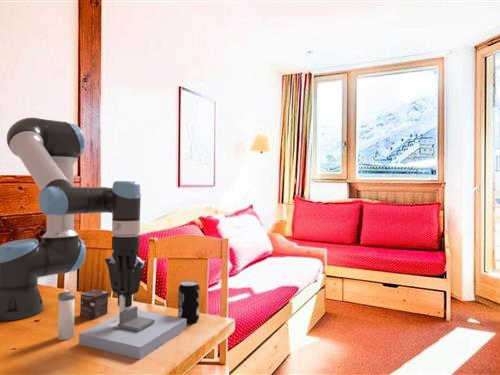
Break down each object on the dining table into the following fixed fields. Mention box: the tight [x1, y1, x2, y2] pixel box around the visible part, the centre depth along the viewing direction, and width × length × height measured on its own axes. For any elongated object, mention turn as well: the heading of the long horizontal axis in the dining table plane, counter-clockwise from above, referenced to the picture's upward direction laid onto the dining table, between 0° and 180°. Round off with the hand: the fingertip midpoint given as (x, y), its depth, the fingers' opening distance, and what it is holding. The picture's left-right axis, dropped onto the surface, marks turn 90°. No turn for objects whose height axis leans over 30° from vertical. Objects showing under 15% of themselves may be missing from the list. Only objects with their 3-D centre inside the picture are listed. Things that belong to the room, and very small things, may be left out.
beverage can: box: [177, 279, 201, 325], centre depth 115 cm, size 7×7×12 cm
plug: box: [57, 291, 76, 341], centre depth 101 cm, size 4×4×12 cm
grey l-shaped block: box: [118, 305, 155, 331], centre depth 102 cm, size 7×7×4 cm
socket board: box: [78, 309, 188, 360], centre depth 102 cm, size 20×21×3 cm
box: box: [79, 289, 109, 320], centre depth 118 cm, size 6×6×7 cm
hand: (124, 317), depth 104 cm, fingers closed
